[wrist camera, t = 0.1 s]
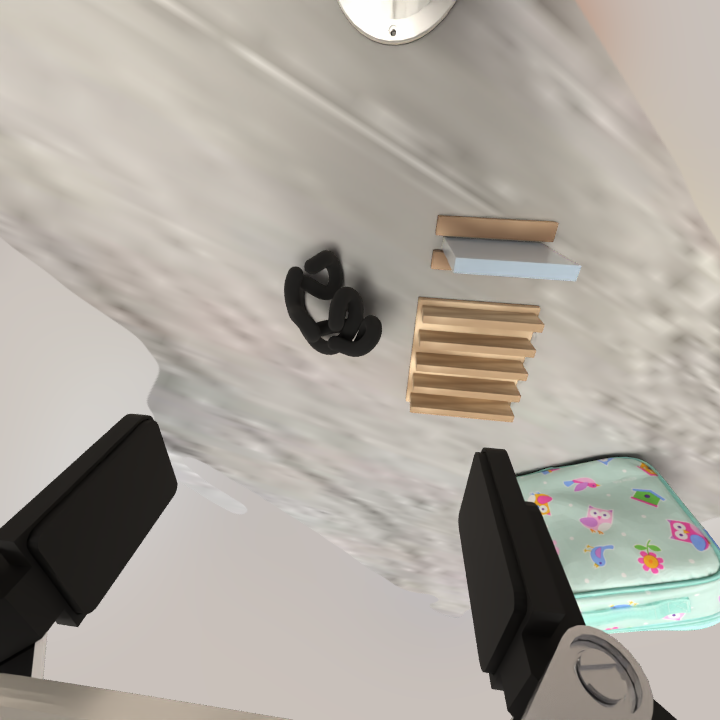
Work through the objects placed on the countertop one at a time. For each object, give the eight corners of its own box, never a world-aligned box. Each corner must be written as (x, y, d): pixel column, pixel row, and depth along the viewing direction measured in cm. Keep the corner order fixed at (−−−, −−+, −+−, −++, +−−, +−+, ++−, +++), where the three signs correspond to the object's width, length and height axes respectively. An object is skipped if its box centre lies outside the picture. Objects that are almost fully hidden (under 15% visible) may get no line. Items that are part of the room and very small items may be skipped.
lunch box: (483, 518, 65) (515, 661, 46) (466, 481, 60) (494, 622, 42) (647, 487, 57) (766, 644, 38) (641, 442, 52) (771, 594, 34)
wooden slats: (438, 215, 40) (439, 216, 39) (554, 221, 39) (558, 223, 38) (430, 266, 43) (431, 268, 42) (539, 273, 42) (542, 276, 41)
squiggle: (329, 280, 51) (407, 341, 46) (277, 327, 49) (353, 396, 44) (312, 222, 41) (410, 293, 36) (245, 278, 38) (339, 362, 33)
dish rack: (418, 297, 45) (420, 309, 41) (537, 305, 44) (550, 319, 40) (405, 397, 53) (406, 415, 49) (506, 406, 52) (514, 426, 48)
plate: (443, 235, 41) (455, 257, 32) (539, 241, 40) (581, 265, 31) (441, 248, 42) (453, 272, 32) (535, 253, 41) (575, 281, 32)
